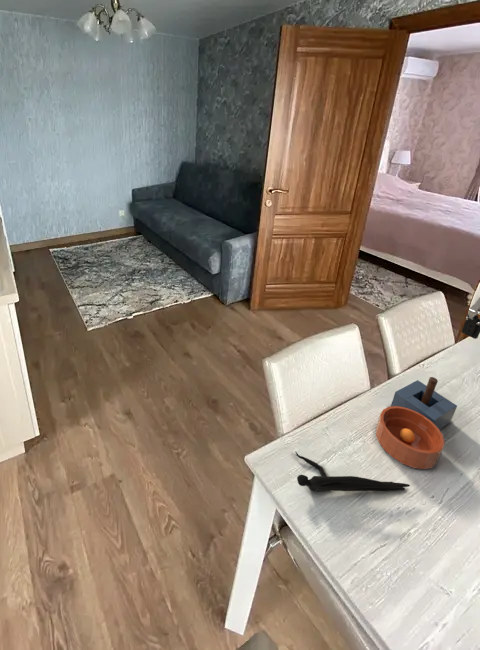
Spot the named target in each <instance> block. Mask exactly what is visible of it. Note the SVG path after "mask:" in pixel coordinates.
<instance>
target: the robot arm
mask: <svg viewBox="0 0 480 650" xmlns="http://www.w3.org/2000/svg"><path fill="white" fill-rule="evenodd" d="M479 316H480V282H479V283H478V285H477V287H476V289H475V292H474V294H473V297H472V299H471V302H470V305H469V308H468V311H467V313H466V317H465V321H464V323H463V326H462V328H461V333H462V334H464V335H465V336H468V337H470V338H472V339H474V340H477V339H478V338H479V336H480V317H479Z"/></svg>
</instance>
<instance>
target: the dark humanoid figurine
mask: <svg viewBox="0 0 480 650" xmlns="http://www.w3.org/2000/svg"><path fill="white" fill-rule="evenodd" d="M294 453H295V456H296V457H297V458H299V459H301V460H303V461H304V462H306V463H307V464H309V465H310V466H312V467H313V468H316V469H317V470H318V471H319V473H320V475H313V476H312V477H311V478H309V477H308V475H305V474H299V475H298V476H297V477H296V479H297V480H296V481H297V484H298V485H299V486H300V487H308V490H310V491H312V492H313V491H318V490H320V491H331V492H333V491H334V492H397V491H399V492H400V491H405V490H406V488H407V487H411V485H410V484H409V483H405V482H404V483H403V482H394V481H380V480H376V479H371V478H366V477H361V476H355V475H342V476H339V475H338V476H336V475H335V476H334V475H333V476H327V473H326V471H325V469H324V468H323V466H322V465H320V464H318V463H317V462H315V461H314V460H312V459H309V458H307V457H305V456H303V455H301V454H300V455H299V454H298V452H297V451H295V452H294Z"/></svg>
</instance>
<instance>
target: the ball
mask: <svg viewBox="0 0 480 650" xmlns="http://www.w3.org/2000/svg"><path fill="white" fill-rule="evenodd" d="M400 436H401V438H402V439H403V440H404V441H405V442H408V443H411V442H413V441H414V440H415V435H414V433H413V432H412V431H411V430H410V429H406V428H404V429H402V430H401V431H400Z"/></svg>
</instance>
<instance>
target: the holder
mask: <svg viewBox="0 0 480 650" xmlns="http://www.w3.org/2000/svg"><path fill="white" fill-rule="evenodd" d="M426 386H427V384H424V383H423V382H421V381H420V380H419V379H417V380H415V381H412V382H411V383H409V384H407V385H406V386H404V387H401V388H400V389H398V390H396V391H395V392H394V395H393V397H392V400H391V404H390V407H391V406H399V407H405V408H408V409H411V410H414V411H416V412H418V413H420V414H422V415H424V416H425V417H426V418H428V419H429V420H430V421H432V422H433V423H434V424H435V425H436V426H437V427H438V429H439V430H441V429H442V428H444V427H446V426H447V425H448V424H450V423H451V422H452V419H453V418H454V415H455V412H456V410H457V407H458V405H457V404H456V403H454V402H453V401H451V400H449V399H448V398H446V397H444V396H443V395H442V394H440V393H438V392H437V391H435V390H434V393H433V395H432V398H431V400H430V403H429V406H427V405H425V404H424V403H422V402H421V400H422V397H423V395H424V392H425V389H426Z"/></svg>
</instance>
